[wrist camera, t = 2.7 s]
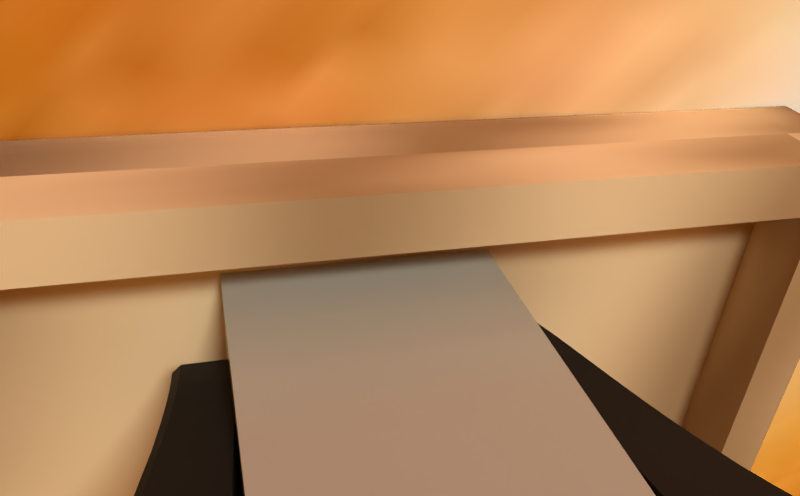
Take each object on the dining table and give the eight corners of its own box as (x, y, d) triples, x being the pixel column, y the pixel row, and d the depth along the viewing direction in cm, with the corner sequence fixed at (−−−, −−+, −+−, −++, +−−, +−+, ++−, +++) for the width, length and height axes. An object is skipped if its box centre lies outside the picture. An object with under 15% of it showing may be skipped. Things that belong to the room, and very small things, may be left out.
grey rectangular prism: (486, 248, 10) (666, 511, 7) (459, 436, 12) (588, 722, 8) (220, 274, 9) (256, 594, 6) (235, 471, 11) (269, 808, 8)
